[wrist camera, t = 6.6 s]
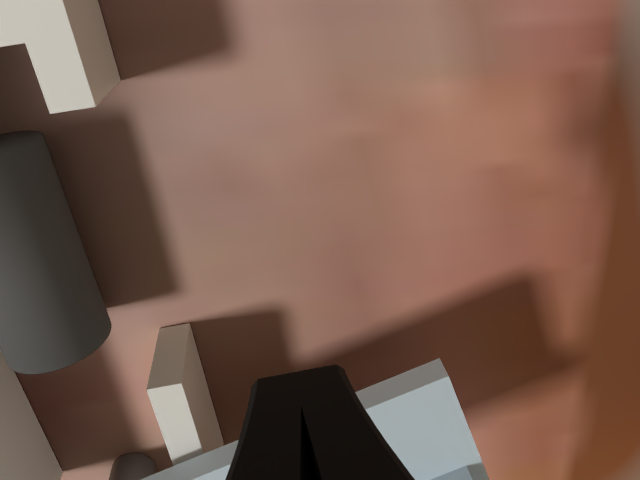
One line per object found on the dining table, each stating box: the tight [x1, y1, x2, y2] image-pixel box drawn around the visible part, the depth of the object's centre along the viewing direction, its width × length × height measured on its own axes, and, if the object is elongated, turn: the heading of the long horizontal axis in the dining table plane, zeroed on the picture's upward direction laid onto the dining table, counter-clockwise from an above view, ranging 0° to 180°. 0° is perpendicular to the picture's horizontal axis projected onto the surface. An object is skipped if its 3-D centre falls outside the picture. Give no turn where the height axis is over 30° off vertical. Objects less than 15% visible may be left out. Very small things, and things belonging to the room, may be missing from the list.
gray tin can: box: [0, 131, 111, 374], centre depth 16 cm, size 6×3×3 cm
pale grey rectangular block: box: [0, 0, 223, 480], centre depth 15 cm, size 17×8×6 cm, turn 7°
